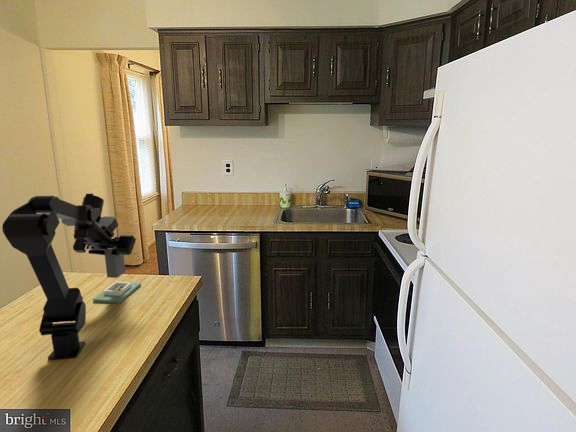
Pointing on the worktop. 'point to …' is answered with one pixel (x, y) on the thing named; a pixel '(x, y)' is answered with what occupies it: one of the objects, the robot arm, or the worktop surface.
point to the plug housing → (114, 264)
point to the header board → (117, 292)
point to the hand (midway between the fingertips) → (116, 255)
